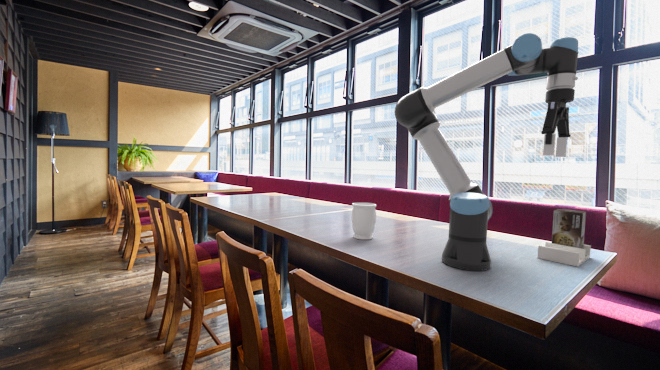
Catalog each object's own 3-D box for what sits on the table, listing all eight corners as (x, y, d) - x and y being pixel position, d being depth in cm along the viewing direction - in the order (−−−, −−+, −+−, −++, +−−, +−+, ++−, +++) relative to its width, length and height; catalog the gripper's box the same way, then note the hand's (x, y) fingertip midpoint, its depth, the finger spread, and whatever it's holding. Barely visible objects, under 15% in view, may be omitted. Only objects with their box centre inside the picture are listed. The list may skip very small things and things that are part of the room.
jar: (349, 239, 136) (350, 204, 135) (352, 234, 146) (353, 201, 145) (374, 241, 134) (376, 205, 133) (375, 235, 144) (376, 202, 143)
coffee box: (583, 254, 120) (587, 211, 119) (579, 257, 116) (583, 212, 114) (554, 248, 127) (557, 208, 125) (550, 251, 122) (553, 209, 121)
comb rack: (537, 257, 117) (538, 245, 117) (551, 250, 129) (552, 239, 128) (578, 266, 108) (579, 253, 108) (589, 257, 120) (590, 245, 119)
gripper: (563, 80, 92) (557, 154, 94) (583, 94, 109) (578, 157, 110) (533, 84, 98) (528, 154, 99) (557, 97, 114) (552, 157, 116)
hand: (554, 156), depth 105 cm, fingers open, 13 cm apart
